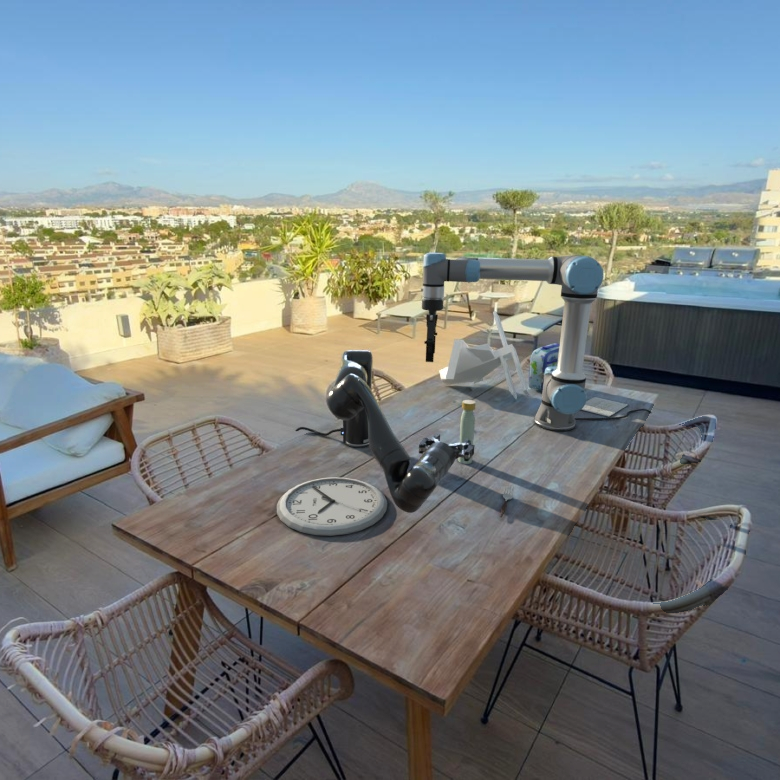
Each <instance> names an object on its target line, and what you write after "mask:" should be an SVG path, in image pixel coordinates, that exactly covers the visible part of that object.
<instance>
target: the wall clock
mask: <svg viewBox="0 0 780 780" xmlns="http://www.w3.org/2000/svg"><path fill="white" fill-rule="evenodd" d="M387 509H388V500H387V498H386V496H385V494H384V493H383V492H382V491H381V490H380V489H379V488H377V487H376V486H374V485H372V484H371V483H369V482H365V481H362V480H359V479H355V478H349V477H338V476H337V477H335V476H333V477H332V476H331V477H322V478H317V479H312V480H307V481H305V482H302V483H299V484H297V485H295V486H293V487H292V488H290V489H288V490H287V491H286V492H285V493H284V494H283V495H281V496H280V498H279V499H278V502H277V503H276V515H277V517H278V518H279V520H280V521H281V522H282V523H283V524H285V525H286V526H287V527H288V528H290V529H293V530H295V531H297V532H299V533H303V534H308V535H312V536H327V537H328V536H329V537H331V536H332V537H333V536H342V535H350V534H352V533H356V532H361V531H363V530H366V529H368V528H369V527H372V526H373V525H375V524H376V523H378V522H379V521H380V520H381V519H382V518H383V517H384V516H385V514H386V512H387Z"/></svg>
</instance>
